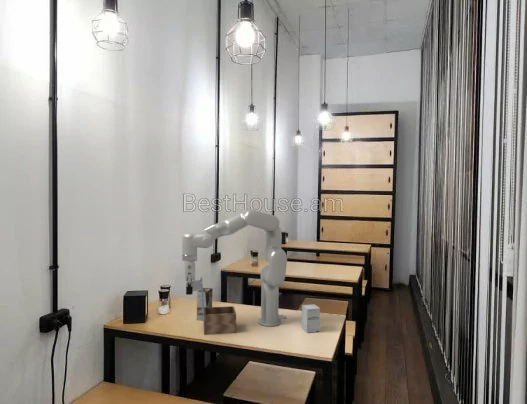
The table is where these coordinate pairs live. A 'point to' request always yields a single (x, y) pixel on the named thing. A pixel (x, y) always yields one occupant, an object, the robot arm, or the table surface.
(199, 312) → the coffee box
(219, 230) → the robot arm
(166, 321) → the table surface
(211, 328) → the walnut box
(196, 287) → the lid
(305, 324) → the supplement box
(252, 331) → the table surface
